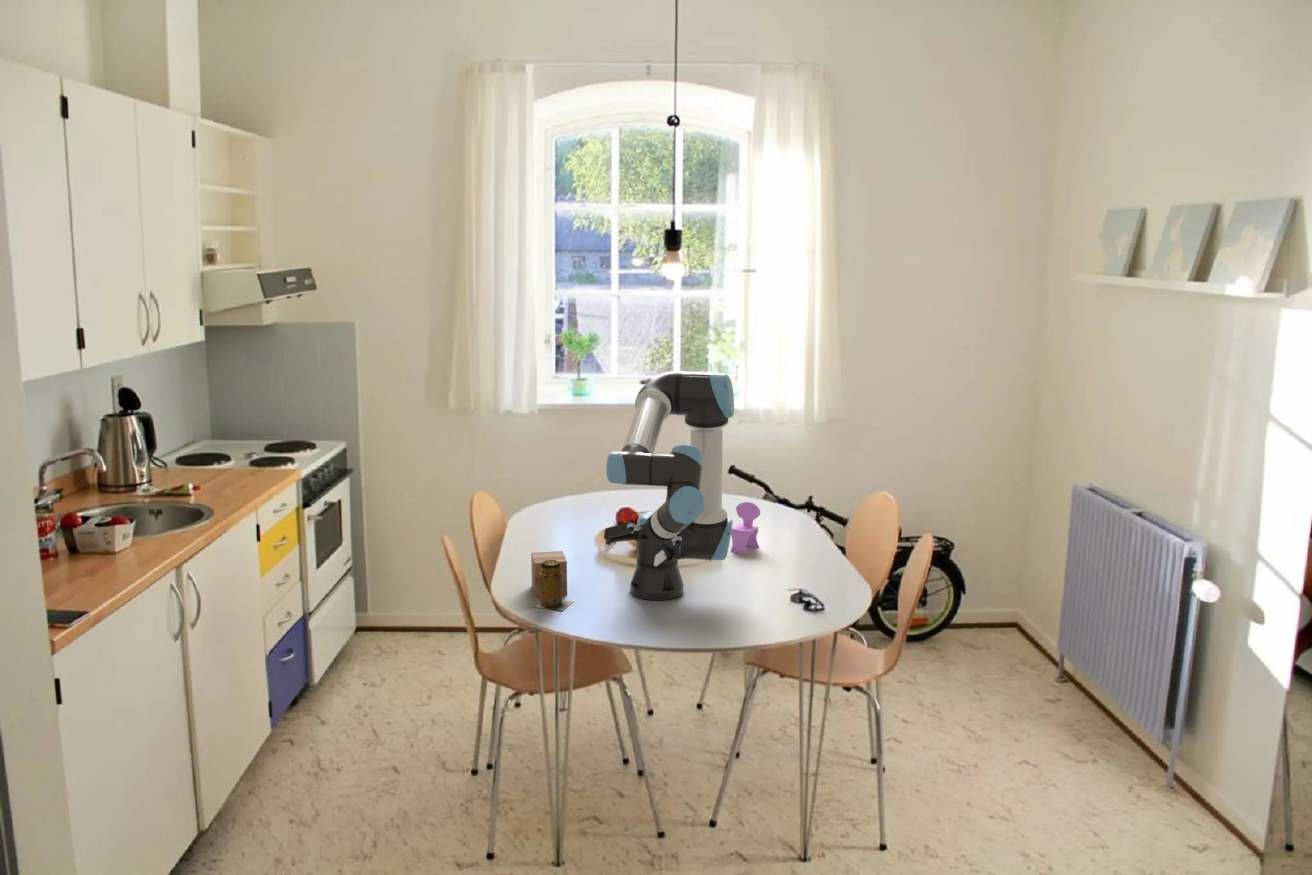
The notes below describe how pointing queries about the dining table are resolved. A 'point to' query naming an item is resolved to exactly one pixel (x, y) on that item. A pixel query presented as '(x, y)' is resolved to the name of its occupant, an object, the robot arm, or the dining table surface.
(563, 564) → the block
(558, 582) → the condiment
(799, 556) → the dining table surface
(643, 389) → the robot arm
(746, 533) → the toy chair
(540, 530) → the dining table surface
